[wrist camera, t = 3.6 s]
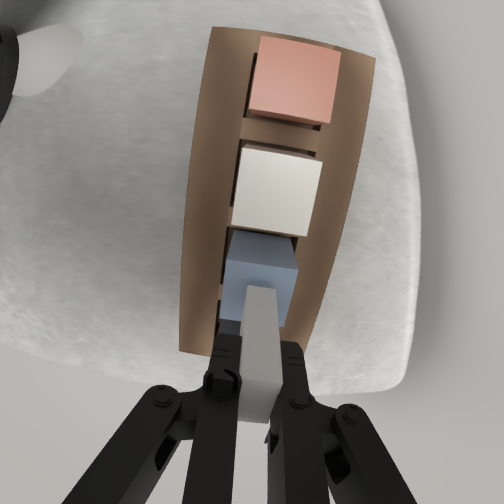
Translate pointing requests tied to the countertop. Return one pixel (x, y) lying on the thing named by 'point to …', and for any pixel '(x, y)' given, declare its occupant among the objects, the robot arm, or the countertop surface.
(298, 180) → the key ivory
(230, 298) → the key blue
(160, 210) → the countertop surface
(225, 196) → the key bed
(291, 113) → the key brick
